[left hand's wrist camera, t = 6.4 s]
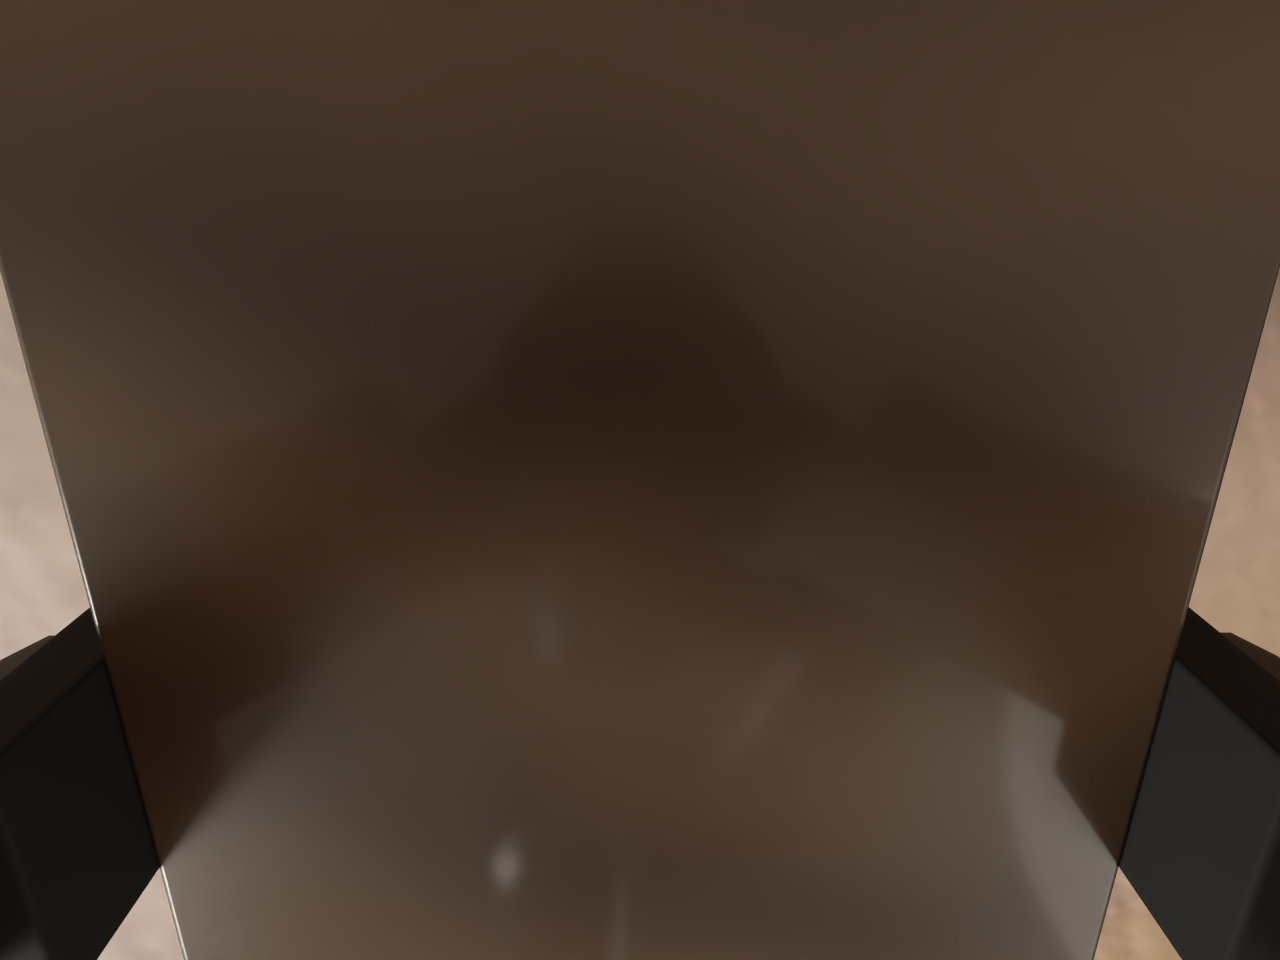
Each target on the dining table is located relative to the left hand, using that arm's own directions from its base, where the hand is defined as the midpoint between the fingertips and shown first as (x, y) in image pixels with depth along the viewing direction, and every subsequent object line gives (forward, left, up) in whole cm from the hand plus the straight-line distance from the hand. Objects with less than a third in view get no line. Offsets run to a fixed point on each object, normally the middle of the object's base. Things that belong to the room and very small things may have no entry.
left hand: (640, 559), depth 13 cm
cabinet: (+4, -1, -6) cm, 7 cm away
